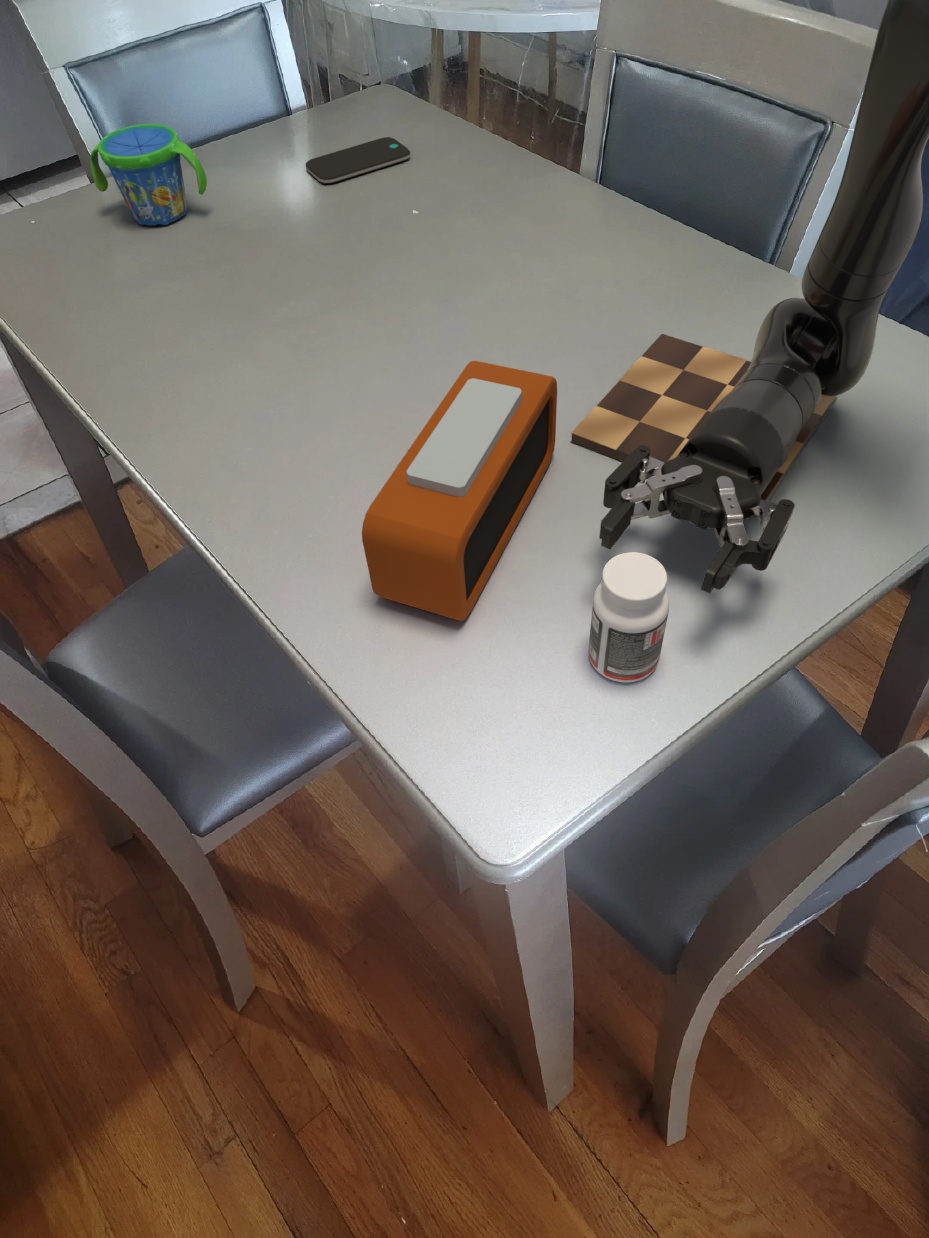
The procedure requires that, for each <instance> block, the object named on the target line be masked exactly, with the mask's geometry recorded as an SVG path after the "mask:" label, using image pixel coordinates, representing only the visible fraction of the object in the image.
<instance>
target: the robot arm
mask: <svg viewBox="0 0 929 1238" xmlns="http://www.w3.org/2000/svg"><path fill="white" fill-rule="evenodd" d="M867 70H868V71H867V76H866V80H865V83H864V87H863V91H862V94H861V99H860V103H859V107H858V111H857V115H856V118H855V119H856V120H855V123H854V124H855V125H854V129H853V133H852V136H851V137H852V138H851V142H850V146H849V149H848V150H849V151H848V154H847V158H846V162H845V166H844V169H843V173H842V177H841V180H840V183H839V187H838V190H837V192H836V196H835V198H834V201H833V204H832V206H831V208H830V211H829V214H828V216H827V218H826V221H825V223H824V225H823V226H822V229H821V231H820V234H819V236H818V239H817V240H816V244H815V246H814V248H813V250H812V252H811V255H810V258H809V260H808V262H807V264H806V266H805V269H804V272H803V275H802V279H801V293H802V296H803V297H789V298H786V299H783V300H782V301H780V302H778V303H776V304H775V305H774V306H773V307H772V308H771V309H769V311H768V312H767V314H766V315H765V317H764V318H763V321H762V322H761V325H760V326H759V330H758V333H757V335H756V339H755V343H754V348H753V353H752V358H751V361H750V362H751V364H750V366H749V368H748V370H747V371H746V373H745V374H744V375H743V376H742V378H741V379H740V380H739V382H738V383H737V384H736V385H735V387H734V388H733V389H732V391H731V392H730V393H729V394H727V395H726V396H725V397H724V398H723V399H722V400H721V401H720V402H719V403H718V404H717V405H716V406H715V408H714V409H713V410H712V411H711V413H710V414H709V415H708V416H707V418H706V419H705V420H704V421H703V423H702V424H701V425H700V427H699V428H698V429H697V430H696V432H695V433H694V434H693V435H692V437H691V438H690V439H689V440H688V442H687V443H686V444H685V446H684V447H683V448H682V450H681V451H680V453H679V454H678V456H677V457H675V458H674V459H671V460H669V461H667V462H662V461H660V460H658V459H655V458H653V457H651V456H650V448H649V447H647V446H644V445H641V446H638V447H637V448H636V449H635V450H634V451H633V452H632V453H631V454H630V455H629V456H628V457H627V458H626V459H625V460H624V461H623V462H622V461H621V463H620V464H619V465H618V466H617V467H616V468H615V469H614V471H612V473H610V475H608V476H607V478H606V479H605V481H604V489H603V490H604V492H603V500H602V504H603V506H604V507H605V508H606V509H610V510H609V511H608V512H607V513H606V514H605V516H604V517H603V518H602V520H601V521H600V527H599V537H598V538H599V539H600V540H601V543H600V546H601V547H602V548H605V549H607V550H611V549H612V548H613V547H614V546H615V544H616V543H617V542H618V540H619V539H620V538H621V537H622V536H623V534H624V533H625V532H626V530H627V529H628V527H630V525H631V523H632V521H634V520H637V519H640V518H645V517H648V518H649V519H656V518H659V517H662V516H665V515H670V517H672V518H674V519H677V520H680V521H684V522H689V523H690V524H692V525H694V526H695V527H697V528H699V529H701V530H704V531H707V530H708V529H713V531H714V533H715V534H714V535H715V538H716V540H717V544H718V547H720V548H721V549H720V550H719V551H718V553H717V555H715V557H714V559H713V560H712V562H711V563H710V565H709V566H708V567H707V569H706V571H705V572H704V575H703V579H702V583H701V588H700V590H701V591H703V592H704V593H705V592H706V593H708V594H711V593H712V591H713V590H714V589H715V590H717V591H720V590H722V589H723V588H725V587H726V585H727V584H728V582H729V580H730V579H731V578H732V576H733V575H734V573H735V572H736V570H737V568H738V567H740V566H741V565H751V566H752V568H753V569H754V570H756V571H758V572H759V571H765V570H767V569H768V567H769V565H770V563H771V561H772V559H773V557H774V556H775V553H776V551H777V549H778V547H779V545H780V543H781V542H782V539H783V538H784V536H785V533H786V532H787V530H788V527H789V524H790V521H791V519H792V516H793V512H794V509H795V507H796V505H795V502H793V501H792V500H790V499H787V498H784V499H781V500H780V501H778V503H774V502H770V501H765V500H762V499H761V494H762V493H763V491H764V490H765V488H766V487H767V485H768V484H769V482H770V481H771V479H772V478H773V477H774V475H775V474H776V472H777V471H778V469H779V468H781V467H782V465H783V464H784V462H785V461H786V459H787V456H788V454H789V453H790V451H791V449H792V448H793V445H794V443H795V441H796V438H797V436H798V434H799V433H800V431H801V430H802V428H803V427H804V425H805V424H806V422H807V421H808V419H809V418H810V417H811V415H812V414H813V412H814V411H815V409H816V407H817V405H818V403H819V401H820V398H821V395H823V396H837V397H838V396H840V395H842V394H845V393H847V392H849V391H850V390H851V389H853V388H854V387H855V386H857V384H858V383H859V382H860V380H861V379H862V378H863V376H864V375H865V373H866V372H867V369H868V367H869V364H870V362H871V359H872V356H873V351H874V347H875V343H876V333H877V326H878V320H879V316H880V310H881V307H882V304H883V301H884V299H885V296H886V295H887V292H888V291H889V288H890V286H891V285H892V283H893V281H894V279H895V278H896V276H897V274H898V272H899V270H900V269H901V267H902V265H903V263H904V262H905V260H906V258H907V257H908V254H909V252H910V250H911V248H912V246H913V244H914V241H915V239H916V236H917V234H918V231H919V228H920V224H921V222H922V220H921V219H922V216H923V205H924V197H923V196H924V195H923V180H922V161H923V160H922V159H923V154H924V151H925V148H926V145H927V143H928V140H929V0H885V4H884V7H883V11H882V14H881V18H880V22H879V26H878V30H877V34H876V37H875V42H874V46H873V50H872V55H871V58H870V63H869V67H868V69H867ZM639 483H640V484H641V485H638V484H639ZM661 495H662V497H663V499H661V500H660V498H661ZM755 515H756V516H757V517H759V520H760V521H759V524H760V526H761V527H762V533H761V535H760V537H759V539H758V540H752V539H749V536H748V534H747V531H746V528H745V525H744V521H746V520H749V519H752V518H753V517H755Z"/></svg>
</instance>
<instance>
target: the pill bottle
mask: <svg viewBox="0 0 929 1238" xmlns="http://www.w3.org/2000/svg"><path fill="white" fill-rule="evenodd" d="M667 583H668V574H667V571H666V569H665V567H664V565H663V564H662V563H661V562H660V561H659V560H658V559H656V558H655V557H653V556H651V555H649V554H646V553H643V552H637V551H632V552H631V551H629V552H623V553H619V554H617V555H615V556H613V557H612V558H610V559H609V560H608V561H607V562H606V563H605V564H604V567H603V570H602V573H601V581H600V582H599V584H598V586H597V587H596V589H595V591H594V593H593V599H592V605H591V606H592V607H591V616H590V617H591V618H590V629H589V638H588V639H589V640H588V658H589V661H590V663H591V665H592V666H593V668H594V669H595V671H597V672H598V674H600V675H601V676H603V677H604V678H606V679H607V680H611V681H614V682H618V683H635V682H638V681H641V680H643V679H645V678H647V677H648V676H650V675H651V674H652V673H653V672H654V671H655V670H656V668H657V666H658V664H659V661H660V658H661V652H662V647H663V642H664V637H665V631H666V626H667V622H668V616H669V611H670V598H669V595H668V593H667Z"/></svg>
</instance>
